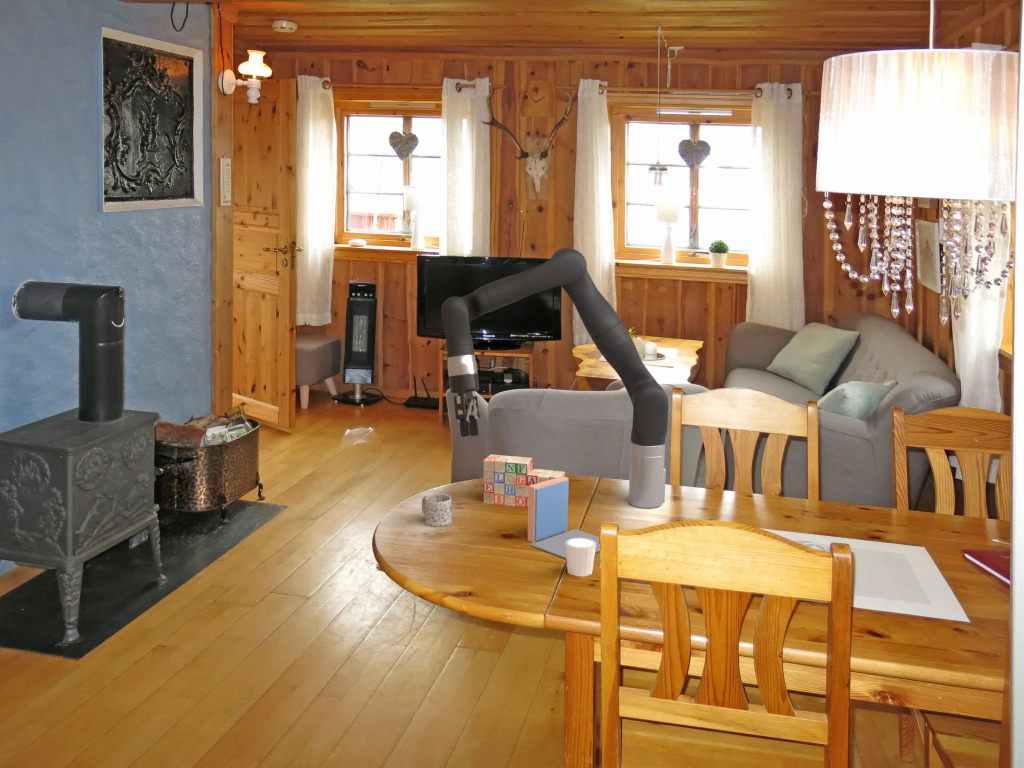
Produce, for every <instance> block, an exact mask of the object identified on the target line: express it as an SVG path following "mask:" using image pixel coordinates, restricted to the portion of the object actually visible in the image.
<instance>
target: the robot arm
mask: <svg viewBox="0 0 1024 768" xmlns="http://www.w3.org/2000/svg"><path fill="white" fill-rule="evenodd" d="M587 267H588V265H587V260H586V258H585V256H584V255H583V254H582V253H581V252H580V251H578V250H576V249H575V248H572V247H562V248H559V249H557V250H556V251H555V252H554V253H553V254H552V255H551V257H550V259H548V260H547V261H545V262H543V263H542V264H539V265H537V266H534V267H533V268H531V269H528V270H525V271H522V272H517V273H515V274H512V275H509V276H508V275H507V276H506V277H502V278H500V279H496V280H494V281H492V282H490V283H487V284H484V285H481V286H480V287H478V288H476V289H475V290H474V291H472V292H471V293H469V294H466V295H464V296H461V297H459V296H450V297H448V298H446V299H445V300H444V301H443V303H442V305H441V309H440V310H441V319H442V324H443V326H442V327H443V330H444V335H445V343H446V344H445V346H446V354H447V371H448V372H447V374H448V381H449V391H450V393H451V394H453V395H455V394H457V396H456V395H455V396H453V402H454V415H455V419H456V420H457V421H458V423H459V429H460V436H461V437H462V438H464V437H469V436H470V437H475V436H476V437H477V436H479V435H480V433H479V431H480V430H479V424H478V421H479V419H480V417H481V416H480V408H479V401H478V395H474V394H473V393H474V392H478V391H479V390H480V383H479V382H480V381H479V374H478V366H477V360H476V355H475V349H474V341H473V338H472V334H471V328H470V327H471V326H470V322H473V321H474V320H476V319H477V318H479V317H481V316H483V315H485V314H487V313H491V312H494V311H496V310H499V309H501V308H504V307H506V306H508V305H511V304H514V303H516V302H518V301H520V300H522V299H524V298H527V297H528V296H532V295H535V294H537V293H540V292H542V291H545V290H549V289H553V288H556V287H561V288H562V289H563V290H564V291H565V293H566V294H567V295H568V297H569V298H570V300H571V301H572V303H573V305H574V307H575V308H576V311H577V314H578V315H579V318H580V319H581V322H582V324H583V325H584V328H585V329H586V332H587V333H588V335H589V337H590V338H591V340H592V342H593V343H594V344H595V347H596V348H597V351H599V353H600V354H601V356H602V357H603V359H605V361H606V362H607V363H608V364H609V365H610V366H611V368H612V369H613V371H615V372H616V374H617V376H619V378H620V381H621V382H622V384H623V386H624V388H625V390H626V392H627V394H628V396H629V399H630V400H631V404H632V407H633V409H632V428H631V432H630V450H629V451H630V452H629V455H630V456H629V458H630V459H629V477H628V480H629V481H628V482H629V483H628V500H627V501H628V504H630V505H632V506H634V507H636V508H643V509H644V508H645V509H653V508H660V507H661V506H662V505H663V503H665V500H666V499H665V498H666V496H665V495H666V478H667V476H666V475H667V469H666V467H665V459H666V458H665V457H666V456H665V455H666V437H667V433H668V423H669V422H668V420H669V398H668V395H667V394H666V391H665V390H664V388H663V386H661V385H660V384H659V383H658V381H657V380H656V379H655V378H654V377H653V375H652V374H651V372H650V371H649V370H648V368H647V367H646V365H645V363H644V362H643V360H642V358H641V357H640V354H639V351H638V349H637V347H636V345H635V342H634V341H633V339H632V337H631V334H630V332H629V330H628V329H627V327H626V325H625V324H624V322H623V321H622V319H621V317H620V316H619V314H618V313H617V312H616V311H615V309H614V307H612V305H611V304H610V303H609V301H608V300H607V299H606V298H605V296H603V294H602V293H601V292H600V291H599V290H598V288H597V286H596V284H595V283H594V281H593V279H592V277H591V276H590V273H589V271H588V268H587Z"/></svg>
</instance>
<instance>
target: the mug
mask: <svg viewBox="0 0 1024 768" xmlns="http://www.w3.org/2000/svg"><path fill="white" fill-rule="evenodd" d="M421 511H422V513H423V514H424V516H425V517H424V521H425V522H424V523H425V525H426V526H428V527H431V528H444V527H448V526H450V525H451V524H452V497H451V496H450V495H449V494H444V493H433V494H429V495H427V496H426V495H425V496H423V497H422V498H421Z"/></svg>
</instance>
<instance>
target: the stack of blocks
mask: <svg viewBox="0 0 1024 768" xmlns="http://www.w3.org/2000/svg"><path fill="white" fill-rule="evenodd" d="M533 464H534V458H533V457H527V456H526V457H524V456H514V455H513V456H511V455H501V454H492V453H491V454H489V455H488V456H486V457H485V458H484V459H483V472H482V473H483V477H482V478H483V504H492V505H500V506H509V507H520V508H528V486H530V485H533V484H537V483H540V482H544V481H547V480H551V479H554V478H558V477H562V476H564V477H566V472H565V471H562V470H561V471H560V470H553V469H552V470H551V469H540V468H534V465H533Z"/></svg>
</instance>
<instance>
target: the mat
mask: <svg viewBox="0 0 1024 768" xmlns="http://www.w3.org/2000/svg"><path fill="white" fill-rule="evenodd" d="M572 538H587V539H591V540H593V541H595V542H596V548H595V553H596V554H598V553H597V552H598V551H599V553H601V552H600V544H599V536H596V535H595V534H591V533H588V532H586V531H583V530H580V529H577V528H575V529H572V530H569V531H568V530H567V532H564V533H561V534H558V535H555V536H552V537H549V538H546V539H543V540H540V541H537V542H535V543H530V547H533V548H535V549H538V550H540V551H543V552H546V553H548V554H551V555H554V556H557V557H558V558H562V559H564V560H566V561H567V556H566V541H567V540H569V539H572Z"/></svg>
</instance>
